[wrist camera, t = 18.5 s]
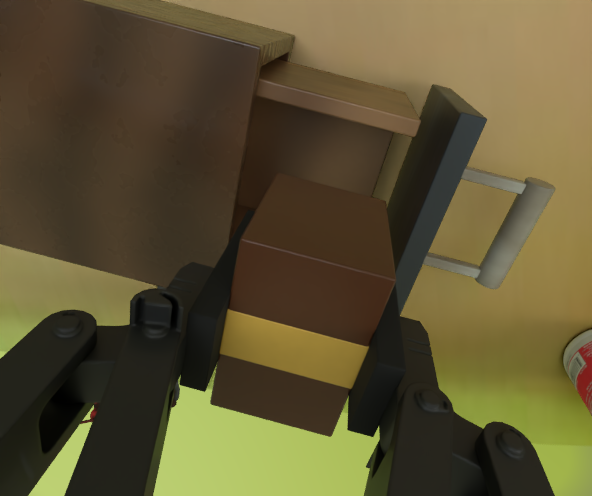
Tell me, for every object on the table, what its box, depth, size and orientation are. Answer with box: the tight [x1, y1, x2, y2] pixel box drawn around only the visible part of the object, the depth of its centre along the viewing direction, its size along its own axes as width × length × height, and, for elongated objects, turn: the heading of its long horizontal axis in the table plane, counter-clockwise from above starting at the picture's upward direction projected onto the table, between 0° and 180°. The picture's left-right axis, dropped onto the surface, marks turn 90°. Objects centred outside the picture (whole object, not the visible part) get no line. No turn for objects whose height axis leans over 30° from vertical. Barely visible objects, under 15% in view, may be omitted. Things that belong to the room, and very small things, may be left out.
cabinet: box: [0, 0, 294, 288], centre depth 25 cm, size 15×13×10 cm
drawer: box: [232, 59, 555, 315], centre depth 25 cm, size 20×12×8 cm, turn 77°
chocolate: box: [211, 173, 396, 437], centre depth 15 cm, size 6×4×6 cm, turn 167°
